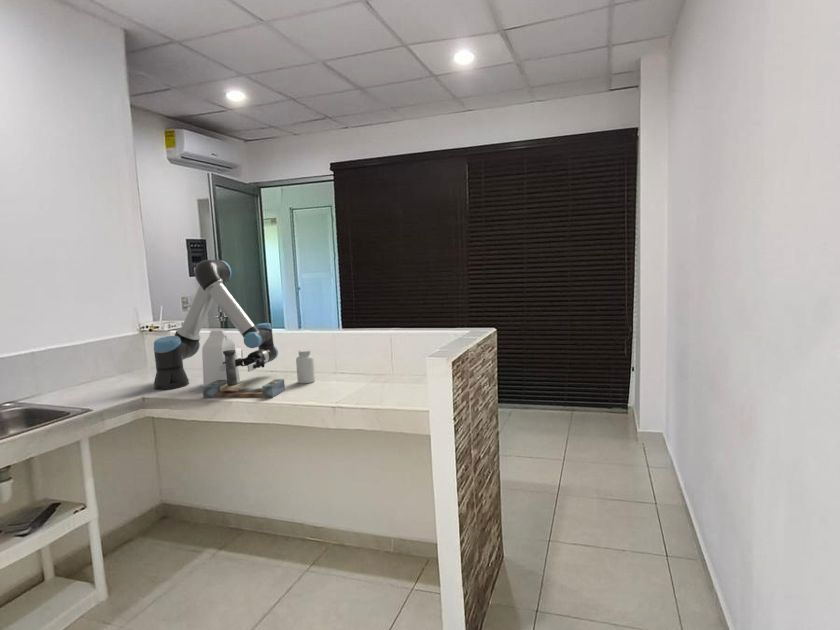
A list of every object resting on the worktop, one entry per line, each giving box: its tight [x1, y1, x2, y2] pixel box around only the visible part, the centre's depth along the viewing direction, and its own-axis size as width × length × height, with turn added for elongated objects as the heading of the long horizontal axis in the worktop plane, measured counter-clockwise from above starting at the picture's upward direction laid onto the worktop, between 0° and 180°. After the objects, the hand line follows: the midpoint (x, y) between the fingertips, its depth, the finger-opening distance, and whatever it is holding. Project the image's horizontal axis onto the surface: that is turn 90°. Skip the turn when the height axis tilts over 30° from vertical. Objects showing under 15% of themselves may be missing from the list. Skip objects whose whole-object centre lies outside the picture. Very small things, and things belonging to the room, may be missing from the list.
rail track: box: [202, 378, 286, 399], centre depth 221 cm, size 32×12×6 cm, turn 81°
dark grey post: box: [220, 349, 245, 391], centre depth 221 cm, size 7×8×17 cm
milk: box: [201, 329, 241, 386], centre depth 242 cm, size 12×12×26 cm
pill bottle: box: [295, 349, 316, 384], centre depth 238 cm, size 8×8×15 cm
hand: (234, 368), depth 223 cm, fingers open, 13 cm apart
